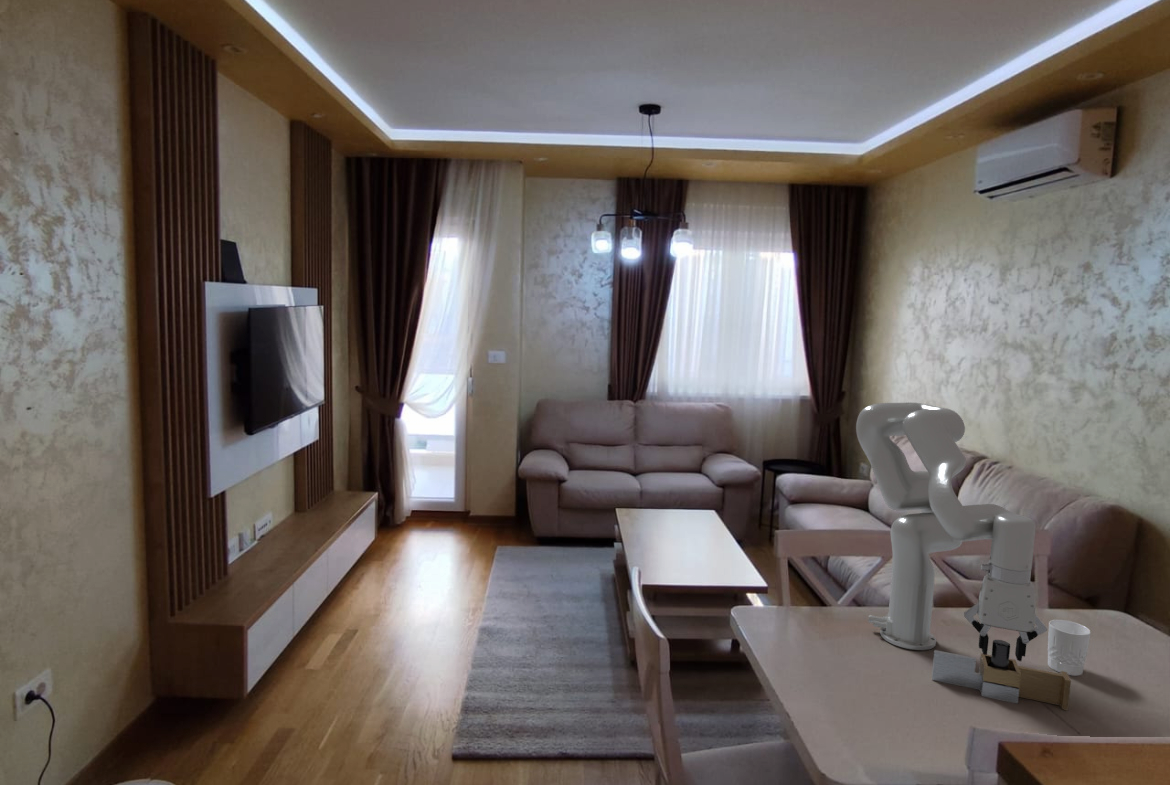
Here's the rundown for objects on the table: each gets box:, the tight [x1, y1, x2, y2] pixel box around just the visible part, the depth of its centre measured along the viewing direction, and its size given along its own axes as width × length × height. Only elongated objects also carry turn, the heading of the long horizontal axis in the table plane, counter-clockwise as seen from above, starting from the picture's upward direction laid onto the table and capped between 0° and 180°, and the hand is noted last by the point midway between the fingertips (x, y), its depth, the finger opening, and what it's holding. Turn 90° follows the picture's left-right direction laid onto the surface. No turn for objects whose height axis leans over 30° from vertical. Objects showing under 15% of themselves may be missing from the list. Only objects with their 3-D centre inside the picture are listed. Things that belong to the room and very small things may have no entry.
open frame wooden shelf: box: [979, 653, 1072, 711], centre depth 149 cm, size 16×7×6 cm, turn 67°
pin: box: [990, 639, 1011, 670], centre depth 150 cm, size 3×3×11 cm
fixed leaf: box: [931, 649, 1020, 704], centre depth 152 cm, size 16×7×6 cm, turn 67°
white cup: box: [1047, 619, 1092, 676], centre depth 162 cm, size 8×8×10 cm
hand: (1001, 654), depth 150 cm, fingers open, 5 cm apart
